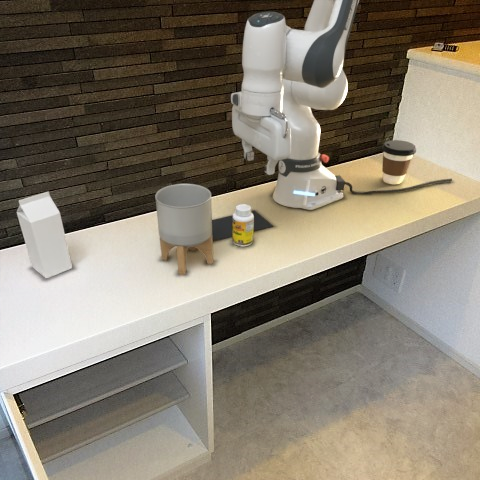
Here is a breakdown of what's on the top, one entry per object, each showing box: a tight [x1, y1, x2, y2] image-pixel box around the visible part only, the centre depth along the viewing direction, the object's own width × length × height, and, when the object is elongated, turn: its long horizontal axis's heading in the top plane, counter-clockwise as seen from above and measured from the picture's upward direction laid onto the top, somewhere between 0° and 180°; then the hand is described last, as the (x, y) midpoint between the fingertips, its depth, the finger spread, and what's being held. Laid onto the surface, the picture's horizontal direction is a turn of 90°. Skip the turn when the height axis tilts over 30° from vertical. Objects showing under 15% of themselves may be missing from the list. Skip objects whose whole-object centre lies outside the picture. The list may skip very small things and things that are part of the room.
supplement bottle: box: [231, 203, 254, 247], centre depth 131 cm, size 6×6×10 cm
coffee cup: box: [381, 139, 417, 185], centre depth 165 cm, size 11×11×12 cm
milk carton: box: [16, 191, 73, 280], centre depth 117 cm, size 7×7×19 cm
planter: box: [154, 183, 214, 275], centre depth 121 cm, size 13×13×18 cm
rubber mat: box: [212, 210, 274, 242], centre depth 142 cm, size 20×11×1 cm, turn 118°
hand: (258, 166), depth 114 cm, fingers open, 8 cm apart
